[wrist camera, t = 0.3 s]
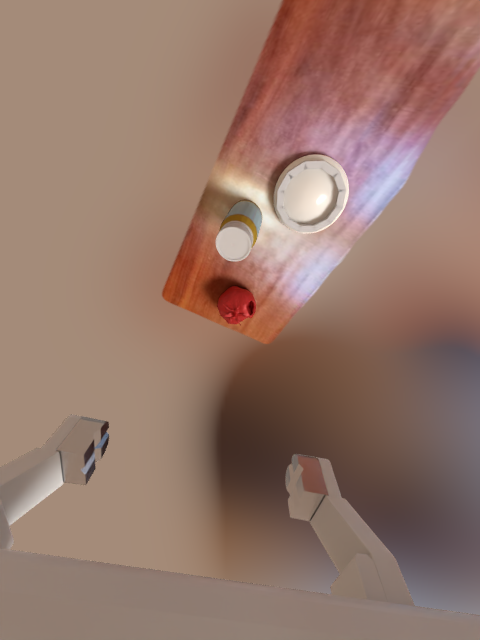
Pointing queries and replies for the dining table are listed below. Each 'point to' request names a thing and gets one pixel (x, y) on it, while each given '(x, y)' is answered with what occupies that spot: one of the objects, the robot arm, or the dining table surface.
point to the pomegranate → (236, 305)
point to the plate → (311, 193)
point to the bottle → (239, 231)
